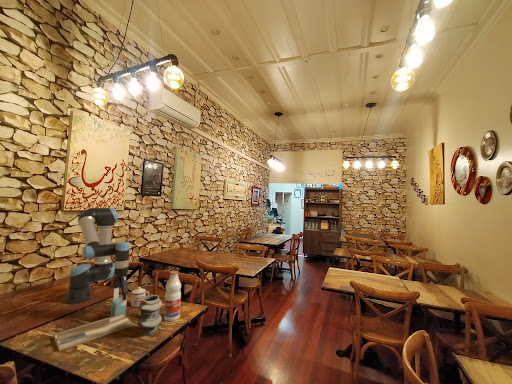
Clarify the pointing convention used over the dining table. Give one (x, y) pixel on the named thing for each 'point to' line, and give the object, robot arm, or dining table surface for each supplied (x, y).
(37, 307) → the dining table surface
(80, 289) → the robot arm
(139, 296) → the teacup with lid
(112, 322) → the board
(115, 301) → the bracket
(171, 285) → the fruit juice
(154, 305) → the apothecary jar
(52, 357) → the dining table surface
